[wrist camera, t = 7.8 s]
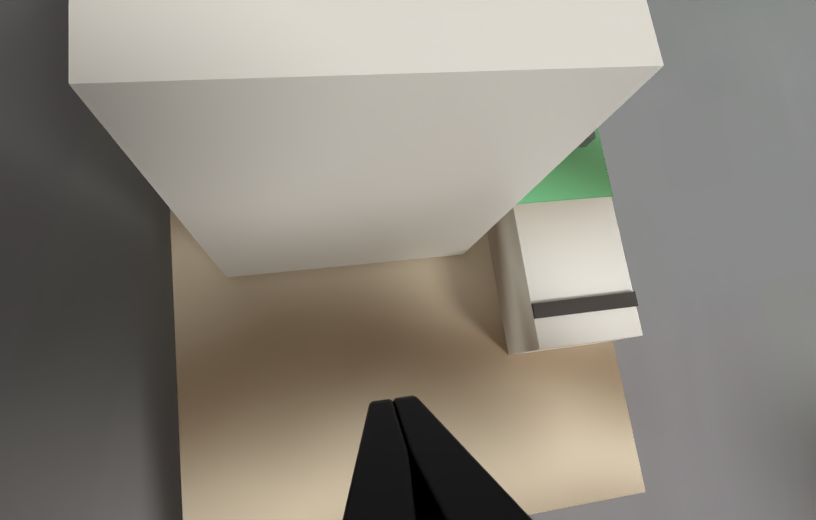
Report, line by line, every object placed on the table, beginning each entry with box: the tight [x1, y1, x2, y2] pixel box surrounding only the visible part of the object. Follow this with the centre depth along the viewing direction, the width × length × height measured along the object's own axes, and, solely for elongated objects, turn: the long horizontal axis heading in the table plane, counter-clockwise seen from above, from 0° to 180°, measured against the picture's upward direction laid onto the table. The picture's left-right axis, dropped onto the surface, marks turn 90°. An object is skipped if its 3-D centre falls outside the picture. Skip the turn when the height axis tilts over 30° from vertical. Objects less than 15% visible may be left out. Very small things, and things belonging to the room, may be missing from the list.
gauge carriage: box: [69, 0, 664, 277], centre depth 12 cm, size 8×10×10 cm
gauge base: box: [170, 128, 645, 520], centre depth 17 cm, size 22×13×4 cm, turn 8°
